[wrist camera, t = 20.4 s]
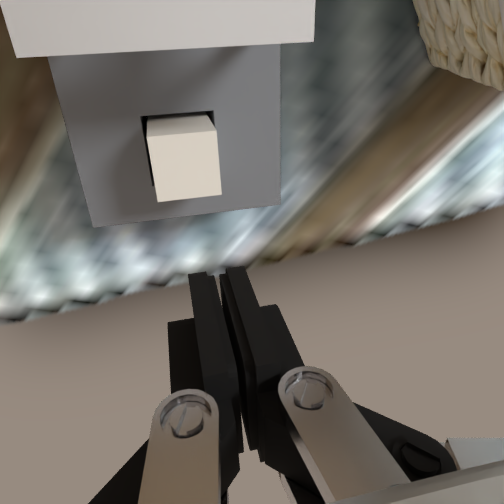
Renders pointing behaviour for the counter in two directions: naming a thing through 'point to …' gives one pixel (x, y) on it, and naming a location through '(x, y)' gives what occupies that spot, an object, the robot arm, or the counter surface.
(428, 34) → the storage basket
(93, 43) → the grey housing
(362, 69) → the counter surface
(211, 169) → the on button
